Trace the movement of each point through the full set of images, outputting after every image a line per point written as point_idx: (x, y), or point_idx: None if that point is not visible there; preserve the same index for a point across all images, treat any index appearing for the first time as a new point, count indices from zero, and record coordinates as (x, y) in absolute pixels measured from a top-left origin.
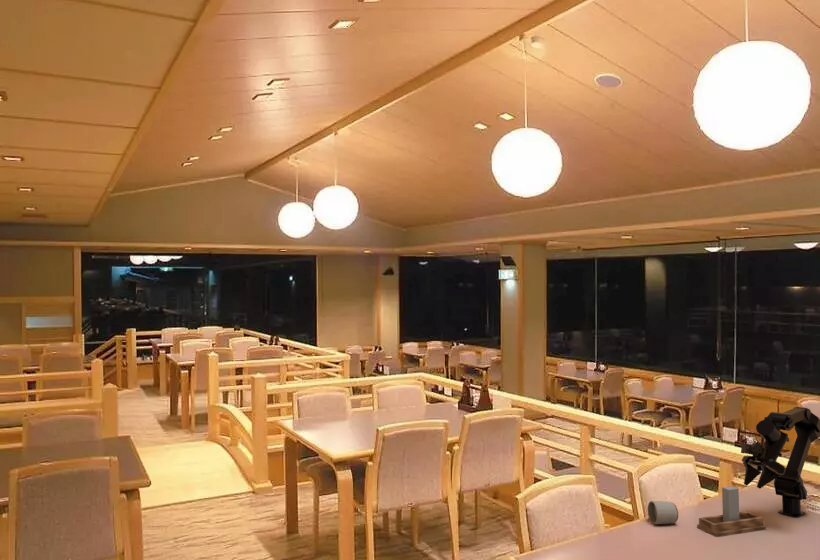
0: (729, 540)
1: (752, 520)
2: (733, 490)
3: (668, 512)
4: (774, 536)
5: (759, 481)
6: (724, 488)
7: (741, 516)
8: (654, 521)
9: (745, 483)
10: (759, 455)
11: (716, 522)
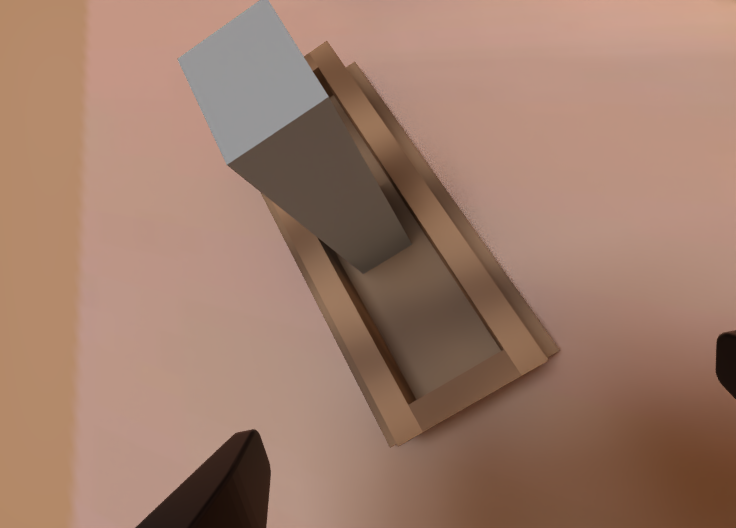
0: (209, 203)
1: (351, 349)
2: (208, 115)
3: None
4: (283, 454)
5: (164, 503)
6: (233, 21)
7: (472, 302)
8: None
9: (730, 354)
10: None
11: (368, 146)
